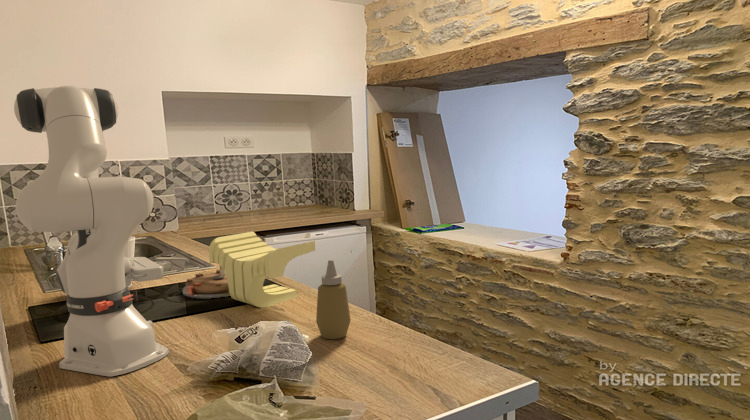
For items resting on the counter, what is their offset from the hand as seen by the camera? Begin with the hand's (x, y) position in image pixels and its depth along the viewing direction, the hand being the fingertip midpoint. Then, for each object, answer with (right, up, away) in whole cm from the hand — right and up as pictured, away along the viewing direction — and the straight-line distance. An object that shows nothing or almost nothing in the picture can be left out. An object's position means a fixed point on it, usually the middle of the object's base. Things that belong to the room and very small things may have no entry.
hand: (169, 264), depth 159 cm
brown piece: (+14, -7, +4) cm, 16 cm away
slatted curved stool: (+31, -10, -8) cm, 33 cm away
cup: (-21, -9, +11) cm, 25 cm away
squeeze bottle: (+54, -13, -39) cm, 68 cm away
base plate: (+14, -8, +4) cm, 17 cm away
